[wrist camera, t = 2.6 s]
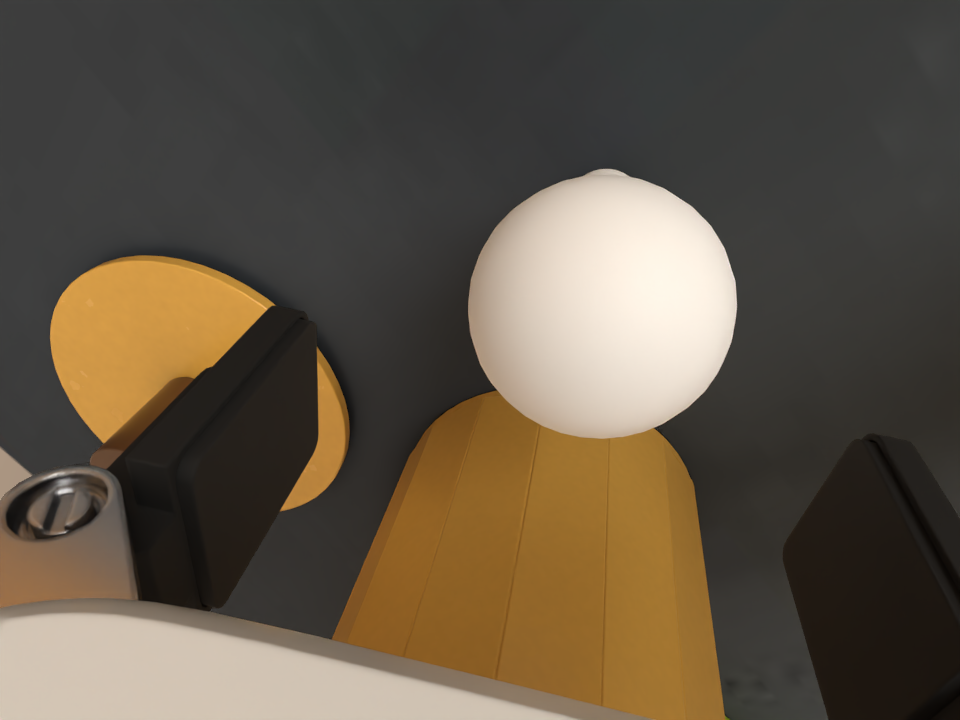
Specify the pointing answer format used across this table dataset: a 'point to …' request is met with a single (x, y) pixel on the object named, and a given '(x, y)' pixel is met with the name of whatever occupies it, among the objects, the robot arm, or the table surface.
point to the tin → (544, 565)
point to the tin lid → (167, 353)
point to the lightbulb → (602, 306)
